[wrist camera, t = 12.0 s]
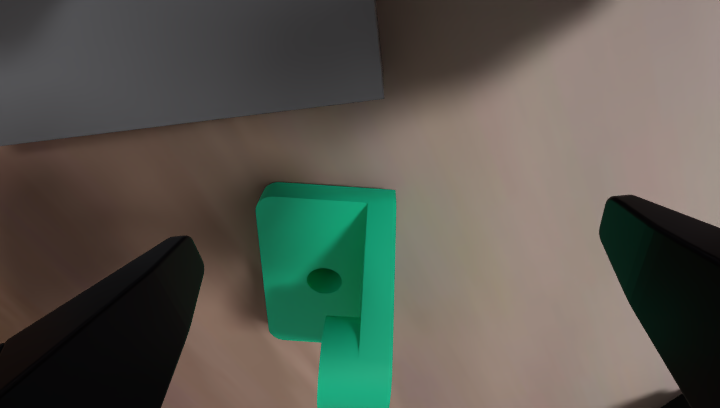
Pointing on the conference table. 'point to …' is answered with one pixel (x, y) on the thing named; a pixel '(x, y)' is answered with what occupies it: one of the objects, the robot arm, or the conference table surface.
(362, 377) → the camera mount
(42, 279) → the conference table surface
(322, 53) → the mount block
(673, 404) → the game console
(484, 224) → the conference table surface
